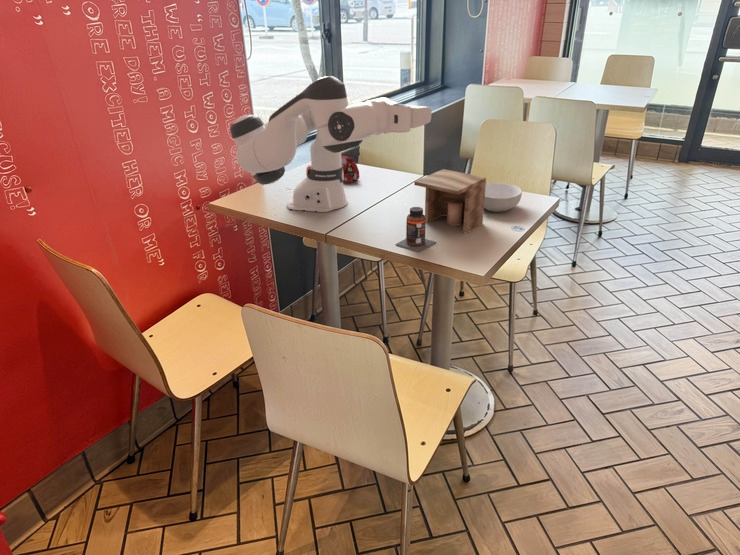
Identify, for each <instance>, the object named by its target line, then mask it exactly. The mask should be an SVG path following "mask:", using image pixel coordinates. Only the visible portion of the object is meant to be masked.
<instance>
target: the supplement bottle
mask: <svg viewBox="0 0 740 555" xmlns="http://www.w3.org/2000/svg"><path fill="white" fill-rule="evenodd" d="M426 224H427V223H426V217H425V214H424V209H423V208H422V207H420V206H412V207H410V208H409V214H408V215H407V216H406V226H405V227H406V232H405V234H406V236H405V239H406V242H407V244H409V245H412V246H420V245H423V244H424V243H425V239H426V230H427V229H426V228H427V225H426Z"/></svg>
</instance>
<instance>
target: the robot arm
mask: <svg viewBox="0 0 740 555" xmlns="http://www.w3.org/2000/svg"><path fill="white" fill-rule="evenodd" d="M347 97H348V94H347V90H346V85H345V83H344V82H342V81H341V80H339V78H337V77H335V76H333V75H328V76H323V77H319V78H318V79H316V80H314V81H313V82H312V83H310V84H309V85H308V86H306V87H305V89H303V91H301V92H300V93H299V94H297V95H295V97H293V98H292V99H290V100H289V101H287V102H286V103H285V104H283V105H282V106H280V107H279V108H277V110H275V111H273V113H272V114H271V115H270V116H269V118H268V121H267V122H265V123H264V122H263V120H262V119H261V118H260V116H257V115H256V114H244V115H241V116H239V117H238V118H236V120H235V121H234V122H233V123H232V124H231V125H230V127H229V131H230V134H231V138H232V139H233V140H234V143H235V146H236V148H237V150H236V160H237V163H238V165H239V167H240V168H242V170H244V171H245V172H247V173H250V174H252V178H253V179H254V180H255V181H256V182H257V183H258V184H260V185H262V186H265V185H272V184H275V183H277V182H278V181H280V179H281V178H282V177H283V176H284V175H285V172H286V166H288V165H289V164H290V163H292V161H293V160H294V158H295V156H296V153H297V148H298V146H299V145H301V144H303V143H304V142H306V140H307V138H308V135H309V134H310V133H311V132H313V131H315V130H316V137H315V140H314V141H313V142H312V143H311V144H310V147H309V152H310V162H311V163H310V164H309V165H307V166H306V170H305V171H306V172H305V175H306V177H305V178H304V179H303V180H302V181H301V182H300V183H298V184H297V185H296V186H295V187H294V189H293V194H292V197H291V198H289V200H288V202H287V208H288V209H289V210H290V209H292V210H291V211H293V210H294V211H302V210H305V211H304V212H315V211H317V212H318V213H319V212H320V213H329V212H331V211H333V210H337V209H341V208H343V207H346V206H347V204H348V200H347V195H346V192H345V188H344V182H343V180H344V173H343V166H342V164H341V156H342V152H344V151H346V150H349V149H350V150H351V149H354V148H356V147H359V146H360V145H361V144H362V142H363V141H364V140H366V139H369V138H371V137H372V136H376V137H377V136H380V135H383V134H385V135H386V134H390V133H409V132H411V129H416V128H419V127H422V126H424V125H427V124H429V123H431V122H432V121H431V120H432V116H433V115H432V114H433V113H432V107H429V106H424V105H423V106H422V105H421V106H420V105H412V104H406V103H405V104H404V103H400V102H396V101H395V100H392V99H390V98H388V97H384V96H383V97H378V98H373V99H369V100H365V101H364V102H363V101H362V102H360V101H359V102H355V103H352V104H349V101H348V98H347Z"/></svg>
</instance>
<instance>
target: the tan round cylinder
mask: <svg viewBox="0 0 740 555" xmlns="http://www.w3.org/2000/svg"><path fill="white" fill-rule="evenodd" d="M462 213H463V202H461V201H450V202H448V215H447V216H446V217H447V219H446V221H447V222H446V223H447V224H448V225H450V226H460V225H462V224H461V223H463V220H462Z"/></svg>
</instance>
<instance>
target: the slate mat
mask: <svg viewBox="0 0 740 555" xmlns="http://www.w3.org/2000/svg"><path fill="white" fill-rule="evenodd" d="M436 243H437V242H436V241H434V240H430V239H427V238H425V243H424V244H423V245H420V246H412V245H409V244H407V242H406V238H404V239H402V240H401V241H399V242H397V243H395V246H397V247H401V248H403V249H407V250H410V251H413V252H417V253H421V252H422V251H425V250H426V249H428V248H429V247H432V246H433V245H435V244H436Z"/></svg>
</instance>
